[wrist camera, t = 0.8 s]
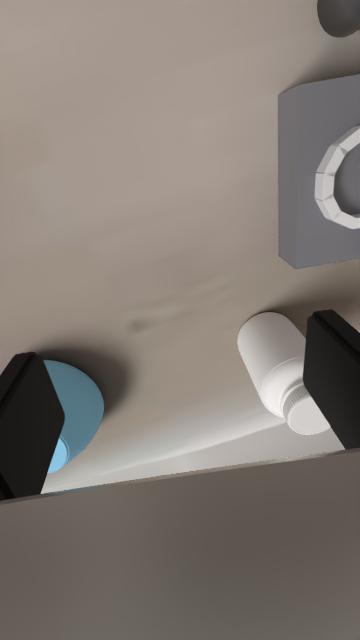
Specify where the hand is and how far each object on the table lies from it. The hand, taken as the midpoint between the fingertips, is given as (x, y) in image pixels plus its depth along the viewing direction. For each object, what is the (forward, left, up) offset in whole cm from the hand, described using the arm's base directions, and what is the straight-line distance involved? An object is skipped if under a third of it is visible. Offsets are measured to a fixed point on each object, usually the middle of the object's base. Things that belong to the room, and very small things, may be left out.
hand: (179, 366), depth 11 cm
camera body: (-2, +19, -27) cm, 33 cm away
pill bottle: (+17, +11, -27) cm, 34 cm away
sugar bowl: (+21, -20, -27) cm, 40 cm away
